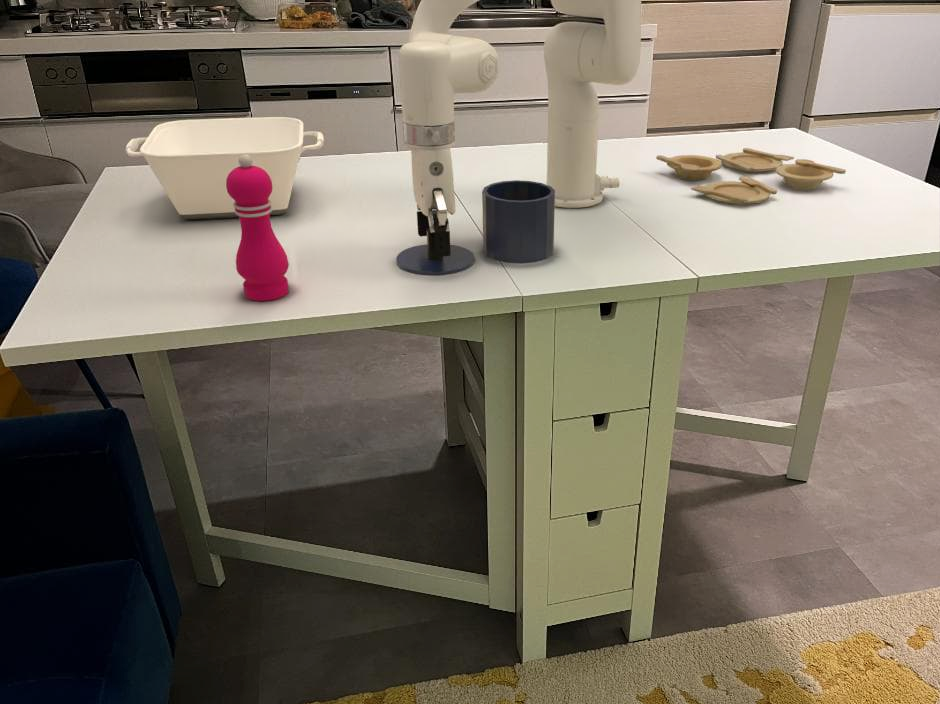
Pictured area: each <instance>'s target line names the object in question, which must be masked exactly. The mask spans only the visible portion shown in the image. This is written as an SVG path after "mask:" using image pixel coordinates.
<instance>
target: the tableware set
mask: <svg viewBox="0 0 940 704" xmlns="http://www.w3.org/2000/svg"><path fill="white" fill-rule="evenodd" d="M655 158H656V160H657V161H660V162H664V163H666V165H667V167H669V168H670V169H673V170H674V172H675V174H676V175H677V177H678V178H680V179H683V180H688V181H702V180H705V179H706V180H707V179H708V178H709V177H710V175H711V174H712V172H715V171H718V170H720V169H721V168H722V164H723V165H724V166H726V167H728V168H732V169H735V170H738V171H745V172H751V173H754V172H755V173H761V172H762V173H763V172H770V171H774V170H775V173H776V174H777V175H778V176H780V177H781V178H783V180H784V183H785V185H786V186H787V187H789V188H792V189H796V190H804V191H809V190H815V189H818V188H819V187H820V186H821V184H822V183H823V182H824V181H828V180H831V179H832V178H833V177H834V174H838V175H844V174H846V172H847V170H846V169H845V168H841V167H836V166H831V165H827V164H826V165H825V164H821V163H817V162H815V161H813V160H811V159H805V158H798V159H795V156H790V155H786V154H775V153H770V152H765V151H762V150H758V149H753V148H749V147H744V148H742V151H741V152H731V153H727V154H724V155H722V154H716V155H715V158H714V157H709V156H704V155H698V154H697V155H696V154H682V155H675V156H673V157H668V156H665V155H660V154H658V155H656V157H655ZM794 159H795V161H794V162H795V163H788V164H783V162H789V161H791V160H794ZM690 190H692V191H694V192H697V193H700V194H703V195H705V196H706V197H707V198H710V199H713V200H716V201H719V202H723V203H727V204H735V205H736V204H737V205H747V204H748V205H749V204H756V203H762V202H764V201H766V200H768V199H770V197H771V195H776V194H777V193H778V190H777V189H775V188H773V187H771V186H769V185H767V184H765V183H763V182H761V181H758V180H757V179H755V178H752V177H749V176H746V175H741V176H739V177H738V181H734V180H733V181H731V180H730V181H729V180H725V181H723V180H722V181H716V182H711V183H707V184H706V185H701V184H698V185H695V186H692V187H690Z"/></svg>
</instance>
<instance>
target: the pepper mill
mask: <svg viewBox="0 0 940 704" xmlns="http://www.w3.org/2000/svg"><path fill="white" fill-rule="evenodd" d="M239 164H240V167H237V168H235V169H233V170H232V171H231V172H230V173H229V175H228V177H227V180H226V188H227V192H228V194H229V195H230V196H231V198H233V199H234V200H235V201H236V202H235V203H234V204H233V206H234V207H235V214H236V215H238V216H239V217H238V219H239V223H240V231H241V236H240V241H239V245H238V248H237V251H236V256H235V268H236V272H237V274H238V276H240V277H241V278H242V279H243V280H244V281H243V282H242V287H243V292H244V296H245V298H247V299H249V300H251V301H256V302H268V301H275V300H279V299H281V298H283V297H285V296H287V295H288V293H289V291H290V287H289V280H288V278H287V277H286V276H285V275H286V273H287V272H288V270H289V267H290V266H289V265H290V263H289V258H288V256H287V253H286V251H285V249H284V248H283V245H282V244H281V242H280V241H279V239H278V238H277V236H276V234H275V233H274V230H273V227H272V223H271V215H270V213H271V211H272V207H271V201H270V200H269V199H268V198H269V196H270V194H271V193H272V181H271V178H270V176H269V175H268V173H267V172H266V171H265V170H263V169H262V168H260V167H257V166H252V159H251V157H250V156H248V155H242V156H240V157H239Z"/></svg>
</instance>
